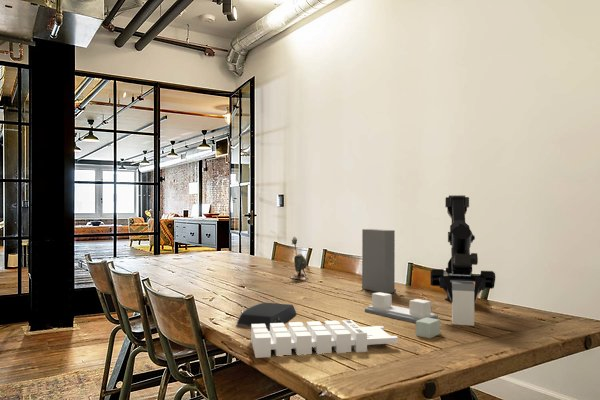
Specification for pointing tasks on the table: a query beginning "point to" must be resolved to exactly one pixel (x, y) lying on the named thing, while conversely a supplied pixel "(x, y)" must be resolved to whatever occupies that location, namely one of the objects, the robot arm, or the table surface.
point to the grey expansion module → (463, 303)
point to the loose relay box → (427, 327)
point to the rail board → (400, 308)
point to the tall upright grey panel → (378, 260)
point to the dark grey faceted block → (266, 314)
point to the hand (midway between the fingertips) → (463, 301)
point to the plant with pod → (299, 264)
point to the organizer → (316, 337)
